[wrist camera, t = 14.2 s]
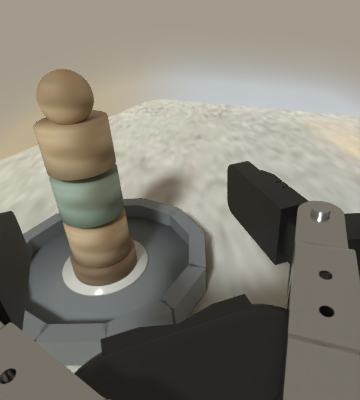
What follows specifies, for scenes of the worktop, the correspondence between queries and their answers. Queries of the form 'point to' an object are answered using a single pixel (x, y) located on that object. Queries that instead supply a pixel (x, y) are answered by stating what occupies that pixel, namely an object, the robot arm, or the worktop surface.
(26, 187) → the worktop surface
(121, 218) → the bead column
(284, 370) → the robot arm
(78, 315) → the dish
